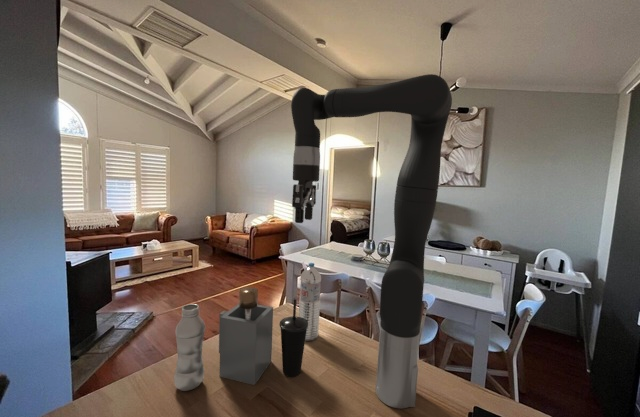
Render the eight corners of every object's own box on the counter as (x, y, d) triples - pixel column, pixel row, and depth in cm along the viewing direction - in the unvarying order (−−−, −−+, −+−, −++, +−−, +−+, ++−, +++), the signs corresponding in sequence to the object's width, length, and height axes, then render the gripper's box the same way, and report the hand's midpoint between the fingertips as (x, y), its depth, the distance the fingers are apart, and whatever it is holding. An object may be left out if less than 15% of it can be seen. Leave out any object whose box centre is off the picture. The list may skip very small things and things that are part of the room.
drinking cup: (301, 383, 72) (305, 308, 70) (273, 377, 73) (276, 303, 71) (308, 364, 79) (312, 296, 77) (283, 360, 81) (285, 292, 79)
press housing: (271, 361, 80) (273, 307, 78) (254, 385, 70) (256, 324, 69) (230, 352, 83) (232, 300, 82) (209, 374, 74) (210, 315, 72)
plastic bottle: (175, 379, 71) (176, 303, 69) (204, 374, 73) (205, 300, 72) (172, 397, 65) (172, 314, 63) (203, 391, 67) (205, 311, 66)
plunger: (263, 358, 79) (266, 287, 77) (251, 374, 72) (254, 297, 70) (242, 353, 80) (243, 284, 79) (228, 368, 74) (230, 293, 72)
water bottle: (295, 332, 96) (298, 260, 94) (314, 330, 98) (318, 260, 96) (300, 343, 90) (303, 266, 87) (320, 340, 92) (324, 266, 89)
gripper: (312, 162, 71) (309, 225, 73) (325, 166, 85) (322, 219, 87) (284, 161, 73) (282, 223, 75) (301, 165, 87) (299, 217, 88)
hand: (304, 221), depth 81 cm, fingers open, 8 cm apart
